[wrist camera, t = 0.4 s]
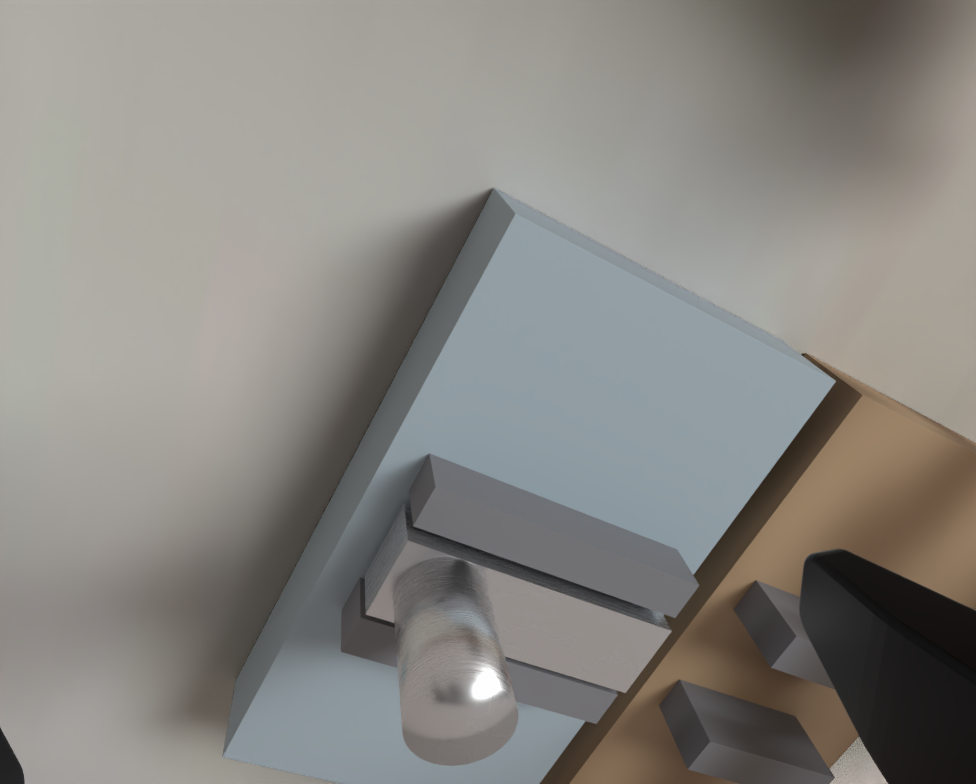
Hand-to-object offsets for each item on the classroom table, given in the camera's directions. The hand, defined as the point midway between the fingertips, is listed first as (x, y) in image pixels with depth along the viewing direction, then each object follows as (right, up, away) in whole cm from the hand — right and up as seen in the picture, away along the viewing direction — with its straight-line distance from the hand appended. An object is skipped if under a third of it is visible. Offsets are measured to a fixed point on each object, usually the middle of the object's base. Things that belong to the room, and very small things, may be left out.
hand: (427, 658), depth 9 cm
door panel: (+1, -1, +16) cm, 16 cm away
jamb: (+10, -5, +19) cm, 22 cm away
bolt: (+1, -2, +13) cm, 13 cm away
